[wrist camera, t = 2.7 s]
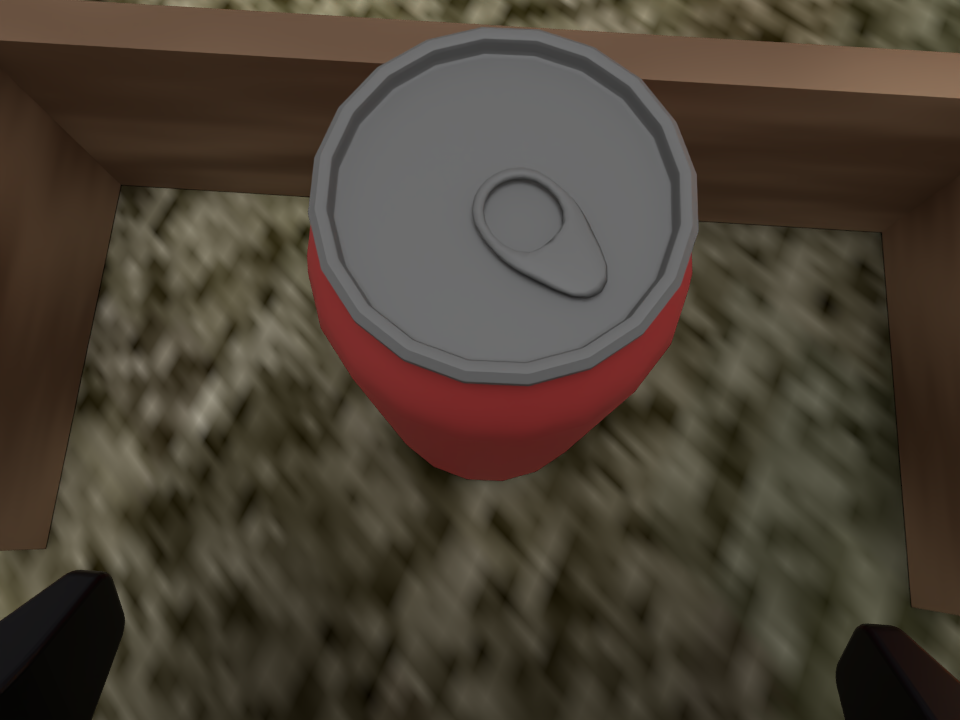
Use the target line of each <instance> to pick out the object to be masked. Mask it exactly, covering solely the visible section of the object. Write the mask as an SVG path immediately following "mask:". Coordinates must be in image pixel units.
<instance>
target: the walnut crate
mask: <svg viewBox="0 0 960 720" xmlns="http://www.w3.org/2000/svg"><path fill="white" fill-rule="evenodd" d="M480 27H495V28H518V29H540V30H543V31H546V32H549V33H552V34H555V35H558V36H561V37H564V38H568V39H571V40H574V41H577V42H580V43H583V44H586V45H589V46H592V47H595V48H596V49H598V50H599V51H601V52H602V53H604V54H605V55H607V56H608V57H610V58H611V59H612V60H614V61H615V62H617V63H618V64H620V65H621V66H623V67H624V68H626V69H627V70H629V71H630V72H632V73H633V74H635V75H636V76H638V77H639V78H641V79H642V80H643V82H644V83H645V84H646V85H647V87H648V88H649V89H650V90H651V91H652V93H653V94H654V95H655V96H656V98H657V99H658V100H659V101H660V103H661V104H662V105H663V106H664V107H665V109H666V110H667V111H668V112H669V114H670V115H671V116H672V117H673V118H674V120H675V121H676V122H677V125H678V127H679V130H680V132H681V135H682V138H683V140H684V143H685V145H686V148H687V151H688V153H689V156H690V158H691V161H692V164H693V166H694V169H695V171H696V174H697V199H698V221H709V222H725V223H741V224H757V225H773V226H789V227H805V228H821V229H837V230H853V231H869V232H882V241H883V254H884V266H885V279H886V291H887V304H888V317H889V329H890V342H891V354H892V367H893V379H894V392H895V405H896V417H897V430H898V442H899V455H900V468H901V480H902V493H903V505H904V518H905V531H906V543H907V556H908V568H909V581H910V593H911V606H912V607H914V608H920V609H925V610H931V611H937V612H942V613H948V614H954V615H959V616H960V53H947V52H930V51H914V50H897V49H880V48H863V47H847V46H830V45H813V44H797V43H780V42H763V41H746V40H730V39H713V38H696V37H680V36H663V35H646V34H630V33H613V32H596V31H579V30H563V29H546V28H529V27H513V26H496V25H479V24H462V23H446V22H429V21H412V20H396V19H379V18H362V17H345V16H329V15H312V14H295V13H279V12H262V11H245V10H229V9H212V8H195V7H178V6H162V5H145V4H128V3H112V2H95V1H78V0H0V551H4V550H27V549H46V544H47V539H48V535H49V530H50V525H51V520H52V515H53V510H54V506H55V501H56V496H57V491H58V486H59V481H60V477H61V472H62V467H63V462H64V457H65V452H66V448H67V443H68V438H69V433H70V428H71V423H72V419H73V414H74V409H75V404H76V399H77V395H78V390H79V385H80V380H81V375H82V370H83V366H84V361H85V356H86V351H87V346H88V341H89V337H90V332H91V327H92V322H93V317H94V312H95V308H96V303H97V298H98V293H99V288H100V283H101V279H102V274H103V269H104V264H105V259H106V254H107V250H108V245H109V240H110V235H111V230H112V225H113V221H114V216H115V211H116V206H117V201H118V197H119V192H120V187H121V185H131V186H147V187H163V188H179V189H195V190H211V191H227V192H243V193H260V194H276V195H292V196H308V197H310V192H311V183H312V174H313V165H314V157H315V155H316V153H317V151H318V149H319V147H320V145H321V143H322V141H323V139H324V137H325V134H326V132H327V130H328V128H329V126H330V124H331V122H332V120H333V118H334V116H335V114H336V112H337V110H338V108H339V106H340V105H341V104H342V103H343V102H344V101H345V100H346V99H347V98H348V97H349V96H350V95H351V94H352V93H353V92H354V91H355V90H356V89H357V88H358V87H359V86H360V85H361V84H362V83H363V82H364V81H365V79H366V78H367V77H368V76H369V75H370V74H371V73H372V72H373V71H374V70H375V69H376V68H377V67H379V66H380V65H382V64H384V63H386V62H388V61H389V60H391V59H393V58H395V57H397V56H398V55H400V54H402V53H404V52H406V51H407V50H409V49H411V48H413V47H415V46H416V45H418V44H420V43H422V42H424V41H425V40H428V39H432V38H437V37H441V36H445V35H450V34H454V33H458V32H463V31H467V30H471V29H476V28H480Z"/></svg>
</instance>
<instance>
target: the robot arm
mask: <svg viewBox="0 0 960 720" xmlns="http://www.w3.org/2000/svg"><path fill="white" fill-rule="evenodd" d="M124 626H125V617H124V612H123V609H122V606H121V603H120V600H119V597H118V594H117V591H116V588H115V585H114V582H113V579H112V577H111V576H110V575H109V574H108V573H107V572H103V571H89V570H75V571H72V572H70V573H67V574H66V575H64V576H63V577H61V578H60V579H58V580H57V581H56V582H54V583H53V584H51V585H50V586H49V587H47V588H46V589H44V590H43V591H42V592H40V593H39V594H37V595H36V596H35V597H33V598H32V599H30V600H29V601H28V602H26V603H25V604H23V605H22V606H21V607H19V608H18V609H16V610H15V611H14V612H12V613H11V614H9V615H8V616H7V617H5V618H4V619H2V620H1V621H0V720H92V717H93V714H94V712H95V709H96V706H97V704H98V701H99V698H100V695H101V693H102V690H103V687H104V685H105V682H106V679H107V676H108V674H109V671H110V668H111V665H112V663H113V660H114V657H115V655H116V652H117V649H118V646H119V644H120V641H121V638H122V635H123V631H124ZM836 684H837V689H838V693H839V697H840V701H841V705H842V709H843V713H844V717H845V720H960V682H959V681H958V680H957V679H956V678H955V677H954V676H953V675H952V674H950V673H949V672H948V671H947V670H946V669H945V668H944V667H943V666H942V665H940V664H939V663H938V662H937V661H936V660H935V659H934V658H933V657H931V656H930V655H929V654H928V653H927V652H926V651H925V650H924V649H923V648H921V647H920V646H919V645H918V644H917V643H916V642H915V641H914V640H912V639H911V638H910V637H909V636H908V635H907V634H906V633H905V632H903V631H902V630H900V629H899V628H897V627H895V626H890V625H879V624H861V625H860V626H858V627H857V628H856V629H855V630H854V632H853V634H852V636H851V638H850V640H849V642H848V644H847V646H846V648H845V650H844V652H843V654H842V656H841V658H840V660H839V662H838V664H837V668H836Z"/></svg>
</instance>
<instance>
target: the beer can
mask: <svg viewBox="0 0 960 720" xmlns="http://www.w3.org/2000/svg"><path fill="white" fill-rule="evenodd" d="M308 215H309V220H310V224H311V226H310V235H309V244H308V253H307V261H308V274H309V279H310V283H311V287H312V292H313V296H314V300H315V305H316V309H317V313H318V318H319V322H320V326H321V329H322V331H323V332H324V334H325V335H326V337H327V339H328V340H329V342H330V343H331V345H332V347H333V348H334V350H335V351H336V353H337V354H338V356H339V358H340V359H341V361H342V362H343V364H344V366H345V367H346V369H347V370H348V372H349V374H350V375H351V377H352V378H353V380H354V381H355V382H356V383H357V384H358V386H359V387H360V388H361V389H362V391H363V392H364V393H365V394H366V396H367V397H368V398H369V399H370V400H371V402H372V403H373V404H374V405H375V407H376V408H377V409H378V410H379V411H380V413H381V414H382V415H383V416H384V418H385V419H386V420H387V421H388V423H389V424H390V425H391V426H392V427H393V429H394V430H395V431H396V432H397V434H398V435H399V436H400V437H401V439H402V440H403V441H404V442H405V443H406V445H408V446H409V447H410V448H411V449H413V450H414V451H415V452H416V453H417V454H419V455H420V456H421V457H422V458H424V459H425V460H426V461H427V462H429V463H430V464H431V465H432V466H433V467H436V468H439V469H441V470H444V471H447V472H449V473H452V474H454V475H457V476H460V477H462V478H465V479H474V480H495V481H503V480H507V479H511V478H514V477H518V476H521V475H525V474H529V473H532V472H536V471H538V470H539V469H541V468H542V467H544V466H545V465H547V464H548V463H550V462H551V461H552V460H554V459H555V458H557V457H558V456H560V455H561V454H563V453H564V452H566V451H567V450H568V449H569V448H570V447H572V446H573V445H574V444H575V443H576V442H577V441H578V440H580V439H581V438H582V437H583V436H584V435H585V434H587V433H588V432H589V431H590V430H591V429H592V428H593V427H595V426H596V425H597V424H598V423H599V422H600V421H601V420H603V419H604V418H605V417H606V416H607V415H608V414H610V413H611V412H612V411H613V410H614V409H615V408H616V407H618V406H619V405H620V404H621V403H622V402H623V401H624V400H626V399H627V398H628V397H629V396H630V395H631V394H633V393H634V392H635V391H636V389H637V388H638V387H639V385H640V384H641V383H642V382H643V380H644V379H645V378H646V376H647V375H648V374H649V372H650V371H651V370H652V368H653V367H654V366H655V364H656V363H657V362H658V360H659V359H660V358H661V356H662V355H663V354H664V353H665V351H666V350H667V349H668V347H669V346H670V345H671V342H672V339H673V336H674V333H675V330H676V327H677V324H678V320H679V317H680V314H681V311H682V308H683V305H684V302H685V299H686V295H687V292H688V289H689V285H690V280H691V276H692V249H693V246H694V243H695V240H696V237H697V234H698V231H699V230H698V199H697V174H696V171H695V169H694V166H693V164H692V161H691V158H690V156H689V153H688V151H687V148H686V145H685V143H684V140H683V138H682V135H681V132H680V130H679V127H678V125H677V122H676V121H675V120H674V118H673V117H672V116H671V115H670V114H669V112H668V111H667V110H666V109H665V107H664V106H663V105H662V104H661V103H660V101H659V100H658V99H657V98H656V96H655V95H654V94H653V93H652V91H651V90H650V89H649V88H648V87H647V85H646V84H645V83H644V82H643V80H642V79H641V78H639V77H638V76H636V75H635V74H633V73H632V72H630V71H629V70H627V69H626V68H624V67H623V66H621V65H620V64H618V63H617V62H615V61H614V60H612V59H611V58H610V57H608V56H607V55H605V54H604V53H602V52H601V51H599V50H598V49H596V48H595V47H592V46H589V45H586V44H583V43H580V42H577V41H574V40H571V39H568V38H564V37H561V36H558V35H555V34H552V33H549V32H546V31H543V30H540V29H518V28H495V27H480V28H476V29H471V30H467V31H463V32H458V33H454V34H450V35H445V36H441V37H437V38H432V39H428V40H425V41H424V42H422V43H420V44H418V45H416V46H415V47H413V48H411V49H409V50H407V51H406V52H404V53H402V54H400V55H398V56H397V57H395V58H393V59H391V60H389V61H388V62H386V63H384V64H382V65H380V66H379V67H377V68H376V69H375V70H374V71H373V72H372V73H371V74H370V75H369V76H368V77H367V78H366V79H365V81H364V82H363V83H362V84H361V85H360V86H359V87H358V88H357V89H356V90H355V91H354V92H353V93H352V94H351V95H350V96H349V97H348V98H347V99H346V100H345V101H344V102H343V103H342V104H341V105H340V106H339V108H338V110H337V112H336V114H335V116H334V118H333V120H332V122H331V124H330V126H329V128H328V130H327V132H326V134H325V137H324V139H323V141H322V143H321V145H320V147H319V149H318V151H317V153H316V155H315V157H314V165H313V174H312V183H311V192H310V200H309V209H308Z"/></svg>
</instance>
